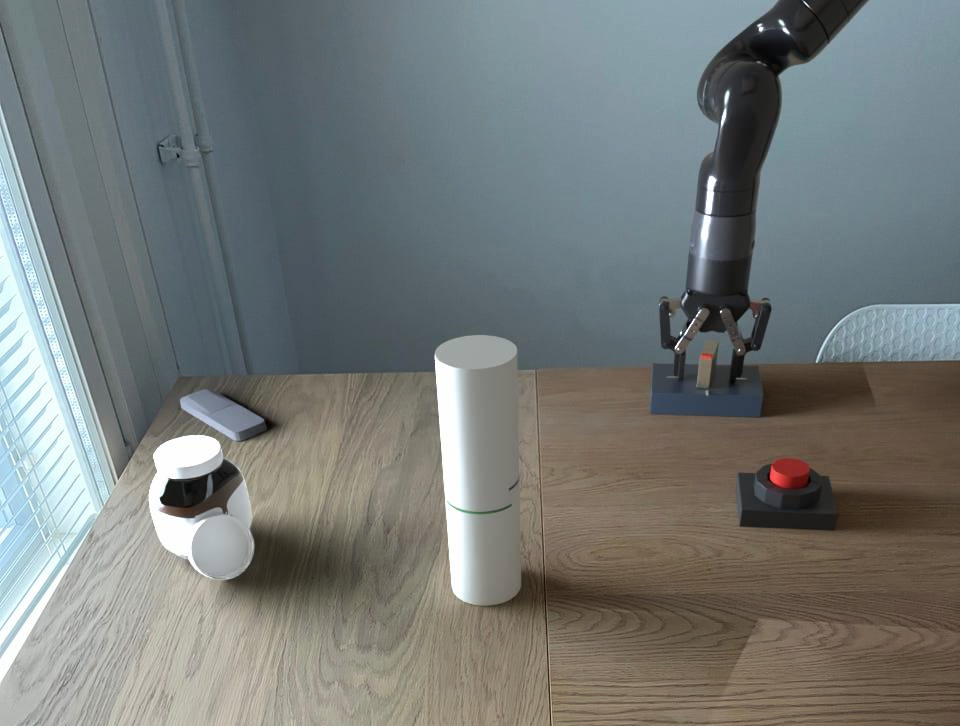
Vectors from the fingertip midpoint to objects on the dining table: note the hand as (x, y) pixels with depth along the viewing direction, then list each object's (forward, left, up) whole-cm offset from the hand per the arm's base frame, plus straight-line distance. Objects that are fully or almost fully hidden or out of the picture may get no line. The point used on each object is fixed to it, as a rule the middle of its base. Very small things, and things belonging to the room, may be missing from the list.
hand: (706, 378), depth 128 cm
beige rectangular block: (0, 0, 0) cm, 0 cm away
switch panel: (0, 0, -3) cm, 3 cm away
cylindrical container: (+23, +43, -3) cm, 49 cm away
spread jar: (+53, +40, -3) cm, 67 cm away
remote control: (+64, +9, -3) cm, 64 cm away
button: (-8, +26, 0) cm, 27 cm away
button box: (-8, +26, -3) cm, 28 cm away
